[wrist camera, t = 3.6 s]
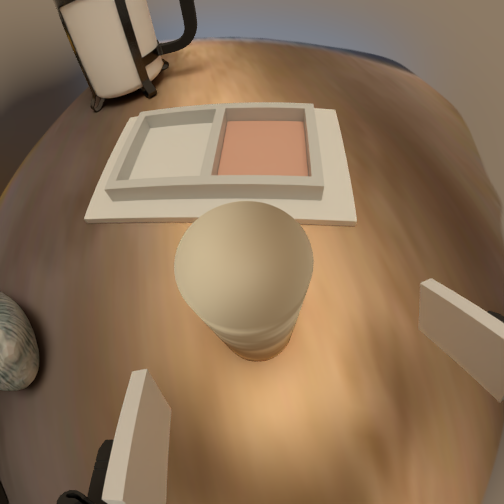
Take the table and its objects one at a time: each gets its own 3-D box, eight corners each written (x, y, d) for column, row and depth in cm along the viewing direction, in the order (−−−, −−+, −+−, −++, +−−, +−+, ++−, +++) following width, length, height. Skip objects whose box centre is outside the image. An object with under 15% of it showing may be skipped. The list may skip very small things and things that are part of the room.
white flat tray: (87, 223, 27) (74, 208, 24) (131, 122, 34) (125, 106, 31) (354, 226, 24) (362, 207, 22) (334, 114, 31) (337, 96, 29)
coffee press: (109, 129, 34) (35, -56, 7) (82, 99, 39) (26, -33, 13) (209, 72, 38) (180, -99, 11) (161, 54, 44) (130, -74, 17)
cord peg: (221, 359, 20) (164, 322, 9) (227, 294, 22) (186, 201, 12) (290, 362, 20) (314, 330, 9) (292, 297, 22) (310, 202, 11)
